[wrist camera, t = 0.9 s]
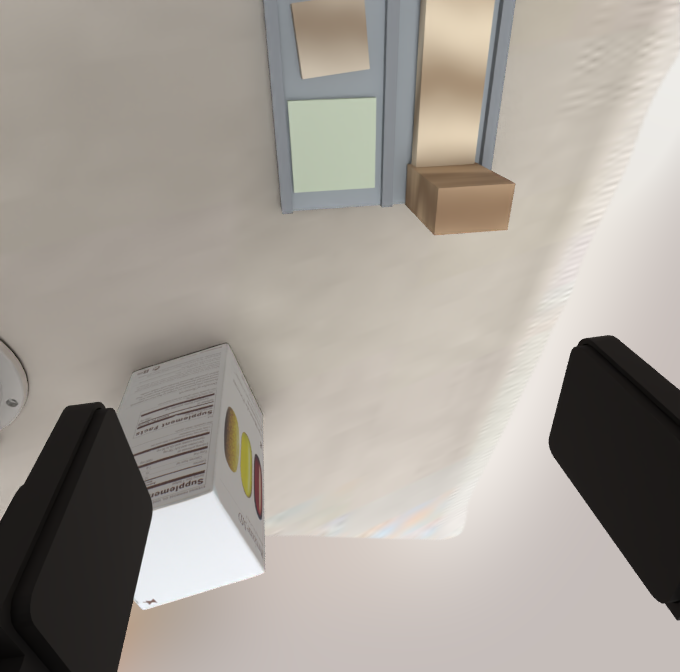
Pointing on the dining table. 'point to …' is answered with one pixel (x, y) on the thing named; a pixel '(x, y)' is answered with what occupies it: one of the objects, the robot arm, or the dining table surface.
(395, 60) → the slate board
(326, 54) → the broken strip
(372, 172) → the felt coaster
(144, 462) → the supplement box
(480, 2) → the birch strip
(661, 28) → the dining table surface
